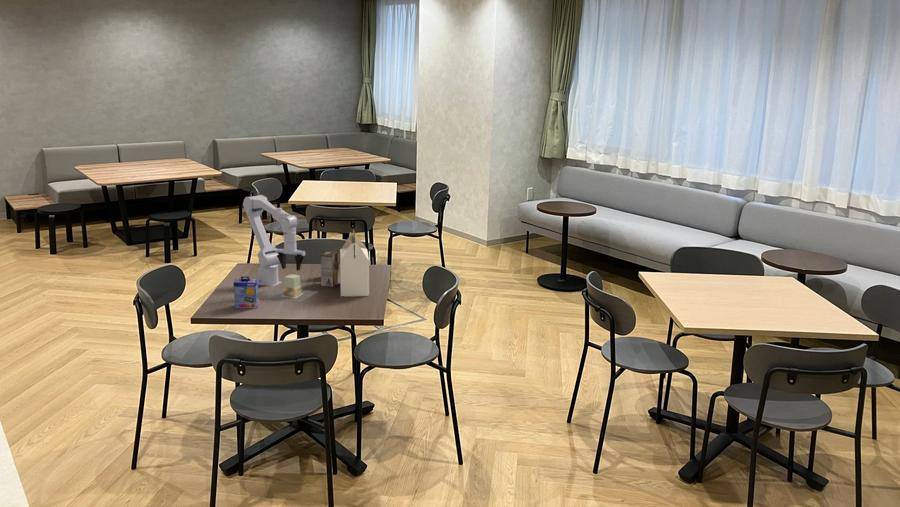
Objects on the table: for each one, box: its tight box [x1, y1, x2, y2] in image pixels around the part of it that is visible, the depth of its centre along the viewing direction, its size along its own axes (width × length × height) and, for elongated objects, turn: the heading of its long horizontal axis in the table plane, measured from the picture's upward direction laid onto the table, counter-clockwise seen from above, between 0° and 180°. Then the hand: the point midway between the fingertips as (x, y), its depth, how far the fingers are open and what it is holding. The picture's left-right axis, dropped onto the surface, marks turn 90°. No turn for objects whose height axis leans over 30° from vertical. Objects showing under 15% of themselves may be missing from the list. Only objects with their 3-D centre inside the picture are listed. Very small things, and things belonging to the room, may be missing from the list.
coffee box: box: [320, 250, 340, 288], centre depth 363 cm, size 9×6×16 cm
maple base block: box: [282, 285, 302, 297], centre depth 345 cm, size 6×6×4 cm
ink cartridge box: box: [233, 275, 260, 309], centre depth 328 cm, size 10×6×14 cm, turn 95°
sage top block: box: [284, 273, 301, 289], centre depth 344 cm, size 5×5×5 cm
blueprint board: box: [265, 288, 319, 304], centre depth 346 cm, size 18×18×1 cm
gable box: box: [339, 229, 370, 297], centre depth 355 cm, size 22×13×28 cm, turn 8°
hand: (291, 269), depth 352 cm, fingers open, 7 cm apart
